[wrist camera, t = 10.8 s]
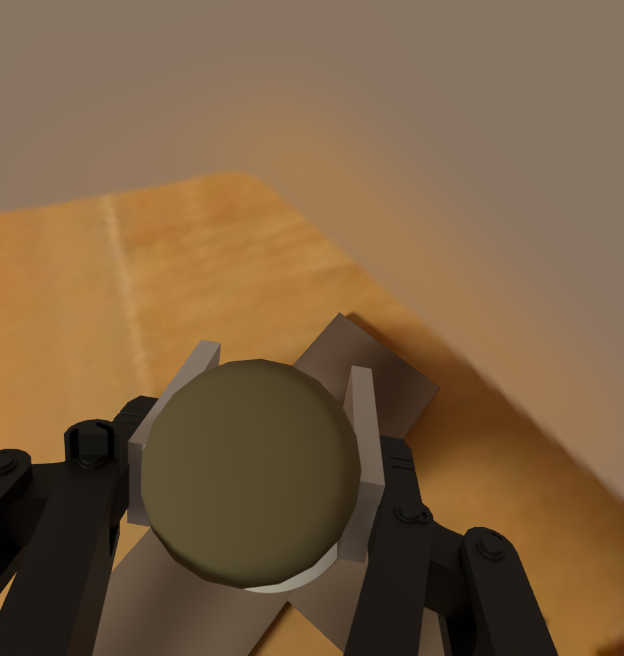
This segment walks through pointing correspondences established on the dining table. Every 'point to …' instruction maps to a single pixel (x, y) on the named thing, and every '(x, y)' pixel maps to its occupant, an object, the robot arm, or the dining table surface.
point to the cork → (250, 473)
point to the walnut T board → (265, 602)
